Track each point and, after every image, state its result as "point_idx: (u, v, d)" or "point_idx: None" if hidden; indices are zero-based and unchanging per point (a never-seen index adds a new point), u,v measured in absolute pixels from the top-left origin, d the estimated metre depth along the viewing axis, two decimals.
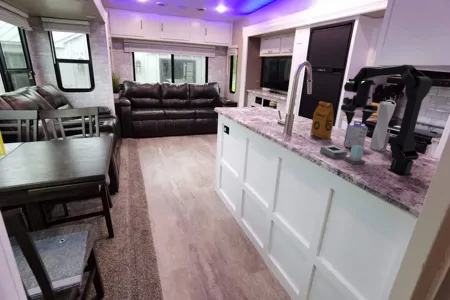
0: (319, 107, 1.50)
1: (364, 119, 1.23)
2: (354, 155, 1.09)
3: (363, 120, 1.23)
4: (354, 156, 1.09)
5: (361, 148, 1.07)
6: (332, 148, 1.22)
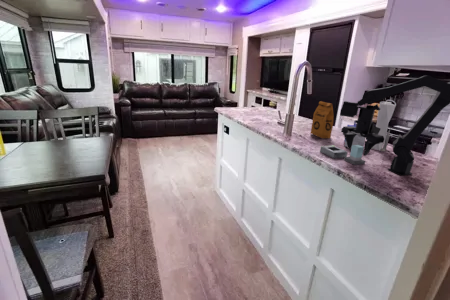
0: (319, 107, 1.50)
1: None
2: (354, 155, 1.09)
3: None
4: (354, 156, 1.09)
5: (361, 148, 1.07)
6: (332, 148, 1.22)
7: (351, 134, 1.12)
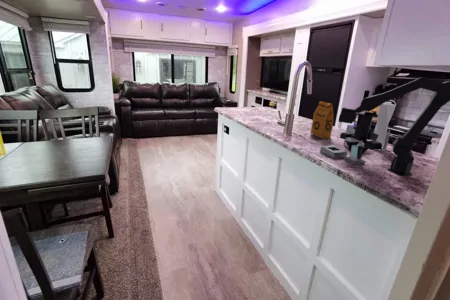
0: (319, 107, 1.50)
1: None
2: (354, 155, 1.09)
3: None
4: (354, 156, 1.09)
5: None
6: (332, 148, 1.22)
7: (354, 142, 1.11)
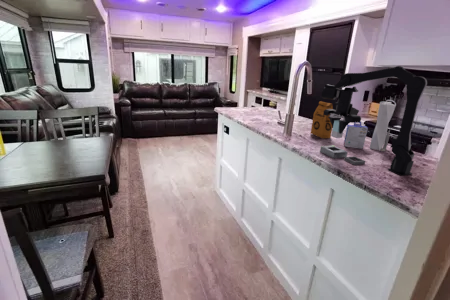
0: (319, 107, 1.50)
1: None
2: (336, 130, 1.15)
3: None
4: (336, 131, 1.15)
5: None
6: (332, 148, 1.22)
7: (336, 117, 1.16)
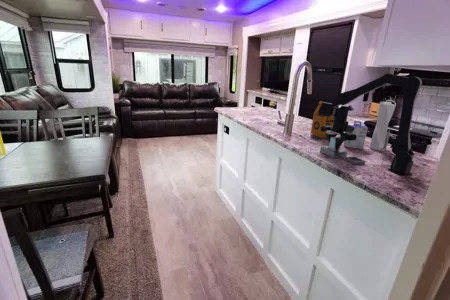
0: (319, 107, 1.50)
1: None
2: (332, 146, 1.18)
3: None
4: (332, 147, 1.18)
5: None
6: None
7: (332, 134, 1.19)
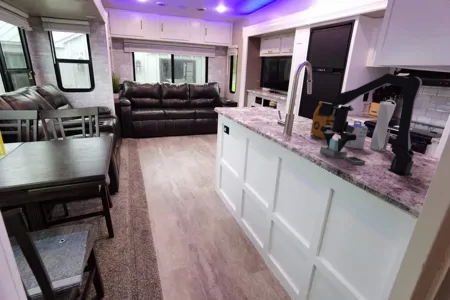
0: (319, 107, 1.50)
1: None
2: (332, 148, 1.18)
3: None
4: (332, 149, 1.18)
5: None
6: None
7: (330, 133, 1.21)
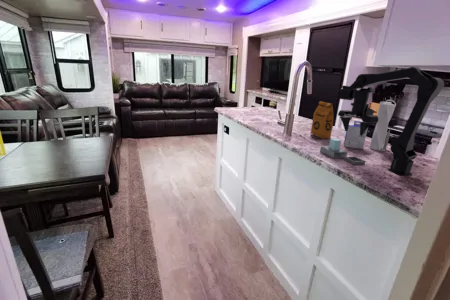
0: (319, 107, 1.50)
1: None
2: (332, 148, 1.18)
3: None
4: (332, 149, 1.18)
5: (338, 141, 1.16)
6: None
7: (347, 117, 1.19)
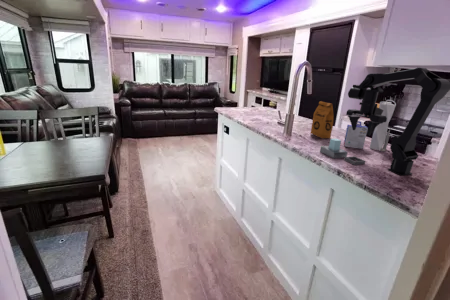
0: (319, 107, 1.50)
1: None
2: (332, 148, 1.18)
3: None
4: (332, 149, 1.18)
5: (338, 141, 1.16)
6: None
7: (355, 116, 1.20)
